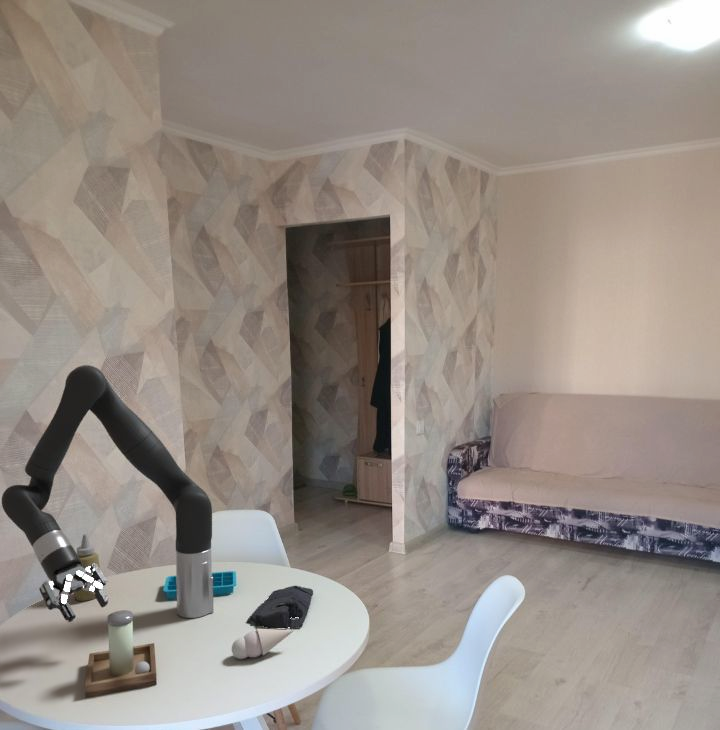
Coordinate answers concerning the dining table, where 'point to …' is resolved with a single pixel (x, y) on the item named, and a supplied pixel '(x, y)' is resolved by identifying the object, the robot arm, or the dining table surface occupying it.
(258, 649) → the ice cream cone
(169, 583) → the ice cube tray
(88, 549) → the squeeze bottle
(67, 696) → the dining table surface
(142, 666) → the ball
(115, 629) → the shaker
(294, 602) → the dark slate chunk
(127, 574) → the dining table surface
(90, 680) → the tray
